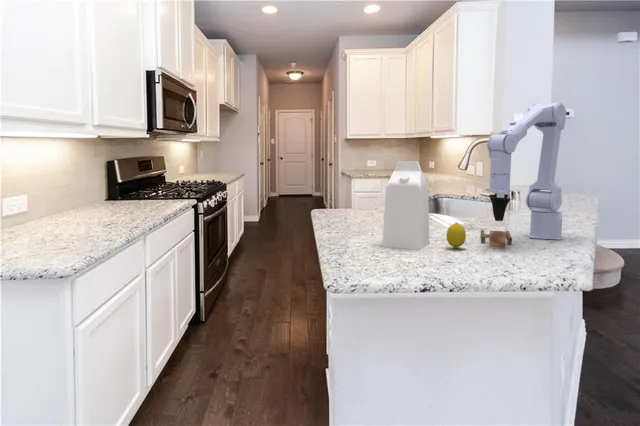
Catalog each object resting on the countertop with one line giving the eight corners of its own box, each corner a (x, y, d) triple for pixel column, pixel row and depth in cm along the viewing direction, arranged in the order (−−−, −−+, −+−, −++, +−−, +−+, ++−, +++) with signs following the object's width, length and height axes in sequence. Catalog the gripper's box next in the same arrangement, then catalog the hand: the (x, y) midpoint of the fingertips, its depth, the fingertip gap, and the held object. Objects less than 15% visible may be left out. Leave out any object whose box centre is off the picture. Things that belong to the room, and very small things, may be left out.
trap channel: (508, 235, 165) (508, 230, 165) (511, 244, 150) (512, 238, 150) (480, 234, 168) (480, 229, 167) (481, 243, 153) (481, 236, 153)
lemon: (466, 251, 142) (467, 224, 141) (446, 250, 143) (447, 223, 142) (464, 247, 147) (465, 221, 146) (445, 246, 148) (446, 220, 147)
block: (504, 245, 150) (505, 231, 149) (505, 248, 145) (505, 233, 145) (489, 244, 151) (489, 230, 150) (489, 247, 147) (490, 233, 146)
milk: (429, 243, 154) (431, 161, 150) (420, 250, 144) (423, 162, 140) (392, 240, 159) (394, 160, 155) (382, 246, 149) (383, 161, 145)
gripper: (485, 172, 154) (483, 215, 155) (486, 175, 140) (484, 221, 142) (509, 173, 152) (507, 216, 153) (513, 175, 138) (510, 222, 140)
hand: (498, 219), depth 147 cm, fingers open, 7 cm apart
